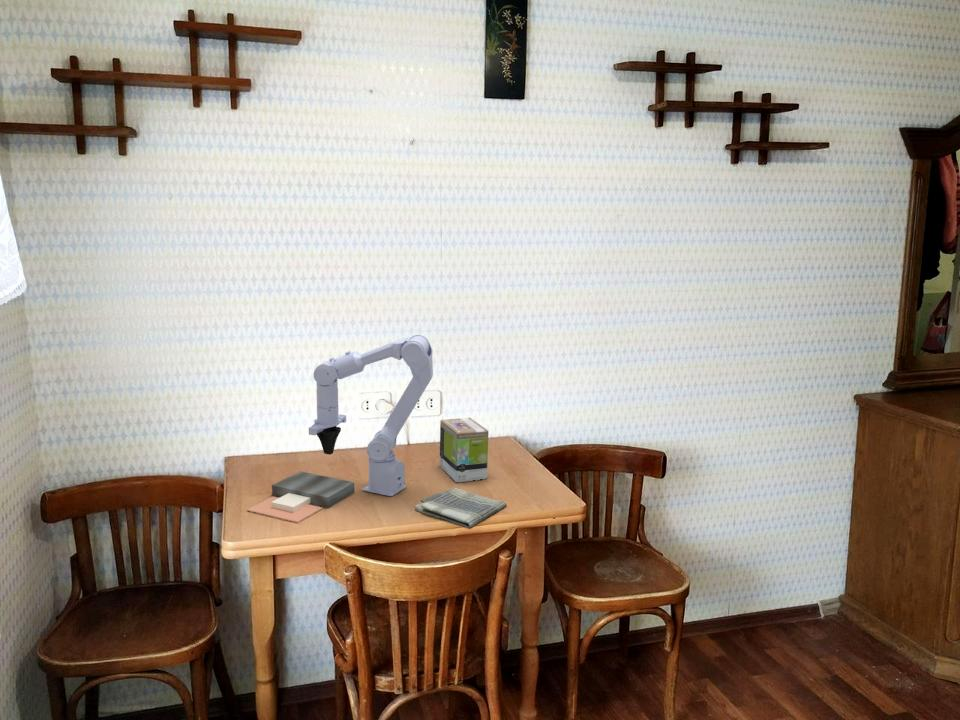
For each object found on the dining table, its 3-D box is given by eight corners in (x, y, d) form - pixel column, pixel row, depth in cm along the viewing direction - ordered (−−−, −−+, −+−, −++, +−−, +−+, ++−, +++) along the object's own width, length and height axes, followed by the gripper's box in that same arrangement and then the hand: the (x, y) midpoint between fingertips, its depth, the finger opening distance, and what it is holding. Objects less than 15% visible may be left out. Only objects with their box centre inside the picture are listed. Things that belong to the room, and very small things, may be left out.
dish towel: (508, 508, 202) (509, 496, 201) (469, 531, 188) (469, 519, 187) (451, 491, 212) (452, 480, 212) (410, 512, 198) (410, 500, 197)
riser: (354, 492, 208) (354, 482, 208) (328, 508, 198) (327, 497, 197) (300, 481, 216) (300, 471, 215) (272, 495, 205) (271, 485, 204)
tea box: (488, 479, 221) (489, 430, 218) (455, 483, 217) (456, 433, 214) (469, 462, 234) (470, 416, 231) (438, 466, 231) (439, 418, 228)
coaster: (310, 503, 200) (310, 497, 199) (293, 512, 194) (293, 507, 193) (288, 498, 203) (288, 492, 202) (271, 507, 196) (271, 502, 196)
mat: (322, 509, 197) (322, 507, 197) (298, 523, 188) (298, 521, 188) (272, 497, 204) (272, 496, 204) (246, 511, 195) (246, 509, 195)
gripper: (331, 397, 216) (332, 443, 219) (298, 410, 203) (300, 458, 206) (352, 401, 213) (352, 447, 216) (320, 413, 200) (321, 463, 203)
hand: (328, 453), depth 211 cm, fingers closed
